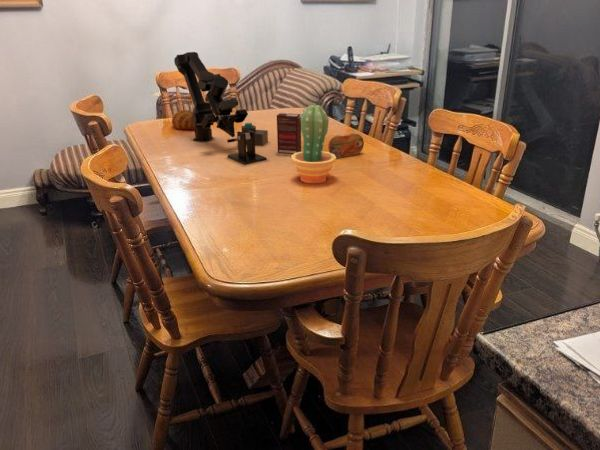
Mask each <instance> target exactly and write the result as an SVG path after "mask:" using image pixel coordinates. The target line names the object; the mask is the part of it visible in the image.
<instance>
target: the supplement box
mask: <svg viewBox="0 0 600 450" xmlns="http://www.w3.org/2000/svg"><path fill="white" fill-rule="evenodd" d="M300 115H301V113H291V112H289V113H287V112H279V113H278V114H276V138H277V141H276V142H277V155H278V156H279V155H280V156H289V157H291V155H293V154H295V153H297V152H302V131H301V117H299V116H300Z"/></svg>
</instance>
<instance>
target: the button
mask: <svg viewBox="0 0 600 450" xmlns="http://www.w3.org/2000/svg"><path fill="white" fill-rule="evenodd" d="M244 125H245V127H246V128H251V127H252V125H253V123H252V122H245V123H244Z"/></svg>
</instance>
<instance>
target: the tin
mask: <svg viewBox="0 0 600 450" xmlns="http://www.w3.org/2000/svg"><path fill="white" fill-rule="evenodd" d="M364 145H365V142H364V138H363V137H362V135H361V134H359V133H347V134H340V135H335V136H333V137H332V138H331V139H330V140H329V141H328V147H327V148H328V152H329V153H332V154H334V155H335V156H336V159H337V158H338V159H342V158H347V157H352V156H358V155H359V154H360V153H362V151H363V149H364Z"/></svg>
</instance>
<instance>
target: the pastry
mask: <svg viewBox="0 0 600 450" xmlns="http://www.w3.org/2000/svg"><path fill="white" fill-rule="evenodd" d="M192 112H193V111H192V110H187V109H186V110H185V109H184V110H183V109H180V110H178V111H177V112H175V113H174V114H173V116H172V117H171V124H172V126H173V127H174V128H175V129H176V130H195V128H194V127H193V126H191V122H190V120H191V118H192V115H193V113H192Z"/></svg>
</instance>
